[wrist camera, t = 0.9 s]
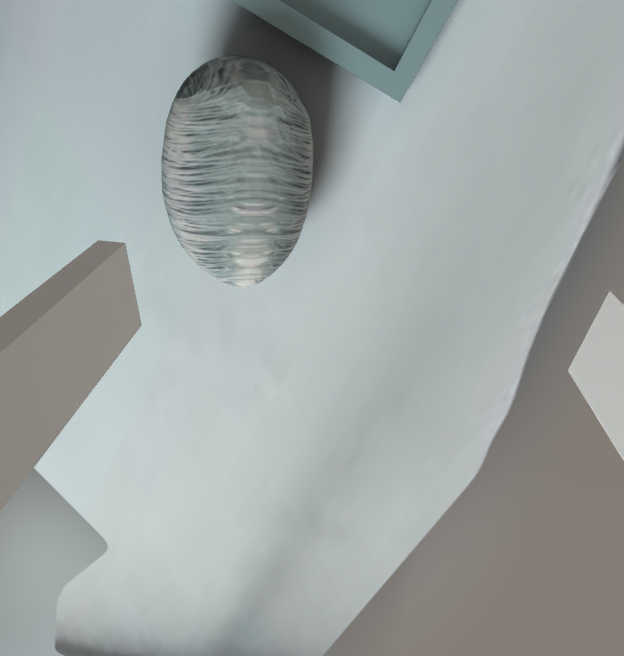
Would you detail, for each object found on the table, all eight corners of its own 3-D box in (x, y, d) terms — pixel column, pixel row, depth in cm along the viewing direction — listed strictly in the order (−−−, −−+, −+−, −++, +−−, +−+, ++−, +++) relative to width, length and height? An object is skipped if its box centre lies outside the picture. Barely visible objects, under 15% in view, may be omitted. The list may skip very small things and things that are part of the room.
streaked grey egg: (147, 15, 24) (166, 98, 18) (308, 40, 27) (366, 117, 21) (158, 219, 34) (172, 314, 28) (274, 218, 37) (308, 303, 31)
